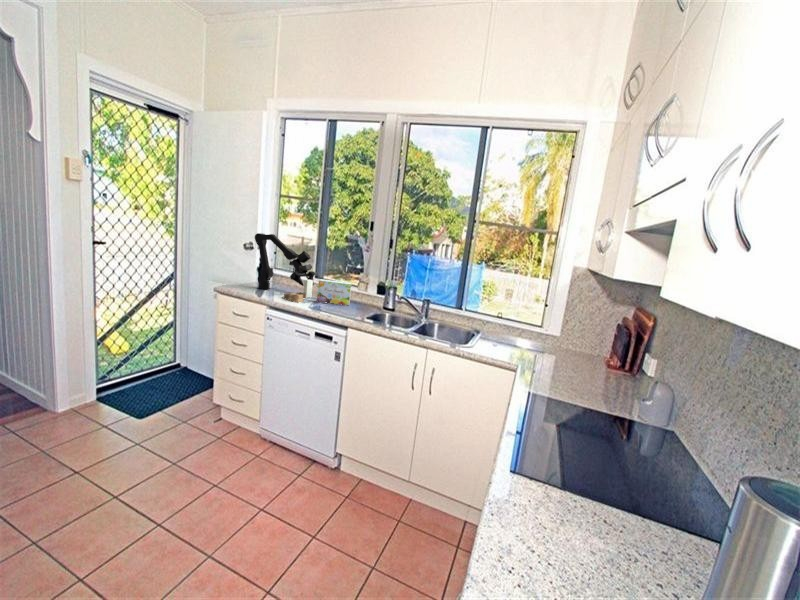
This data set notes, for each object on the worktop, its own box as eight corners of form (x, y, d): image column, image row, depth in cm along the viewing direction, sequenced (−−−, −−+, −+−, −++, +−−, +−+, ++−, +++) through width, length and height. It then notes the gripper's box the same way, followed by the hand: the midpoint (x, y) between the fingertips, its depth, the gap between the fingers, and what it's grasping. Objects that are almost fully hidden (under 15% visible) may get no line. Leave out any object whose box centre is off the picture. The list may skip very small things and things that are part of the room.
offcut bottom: (289, 301, 245) (289, 297, 244) (295, 300, 249) (295, 296, 248) (297, 303, 240) (297, 299, 240) (303, 302, 245) (303, 299, 244)
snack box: (316, 302, 249) (318, 279, 246) (318, 300, 254) (320, 278, 252) (348, 306, 250) (351, 283, 247) (349, 304, 255) (351, 282, 253)
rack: (283, 298, 249) (283, 293, 248) (299, 296, 260) (300, 292, 260) (289, 300, 245) (290, 295, 245) (306, 298, 257) (306, 294, 257)
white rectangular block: (303, 297, 261) (304, 279, 259) (308, 296, 265) (309, 279, 263) (306, 297, 259) (307, 280, 257) (311, 297, 263) (312, 280, 261)
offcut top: (289, 297, 243) (290, 293, 243) (294, 296, 247) (294, 293, 247) (298, 299, 241) (298, 295, 240) (302, 298, 245) (303, 295, 244)
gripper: (294, 259, 253) (304, 279, 249) (314, 260, 268) (324, 278, 264) (285, 269, 258) (295, 288, 254) (306, 269, 274) (315, 287, 270)
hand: (308, 285), depth 260 cm, fingers open, 9 cm apart
